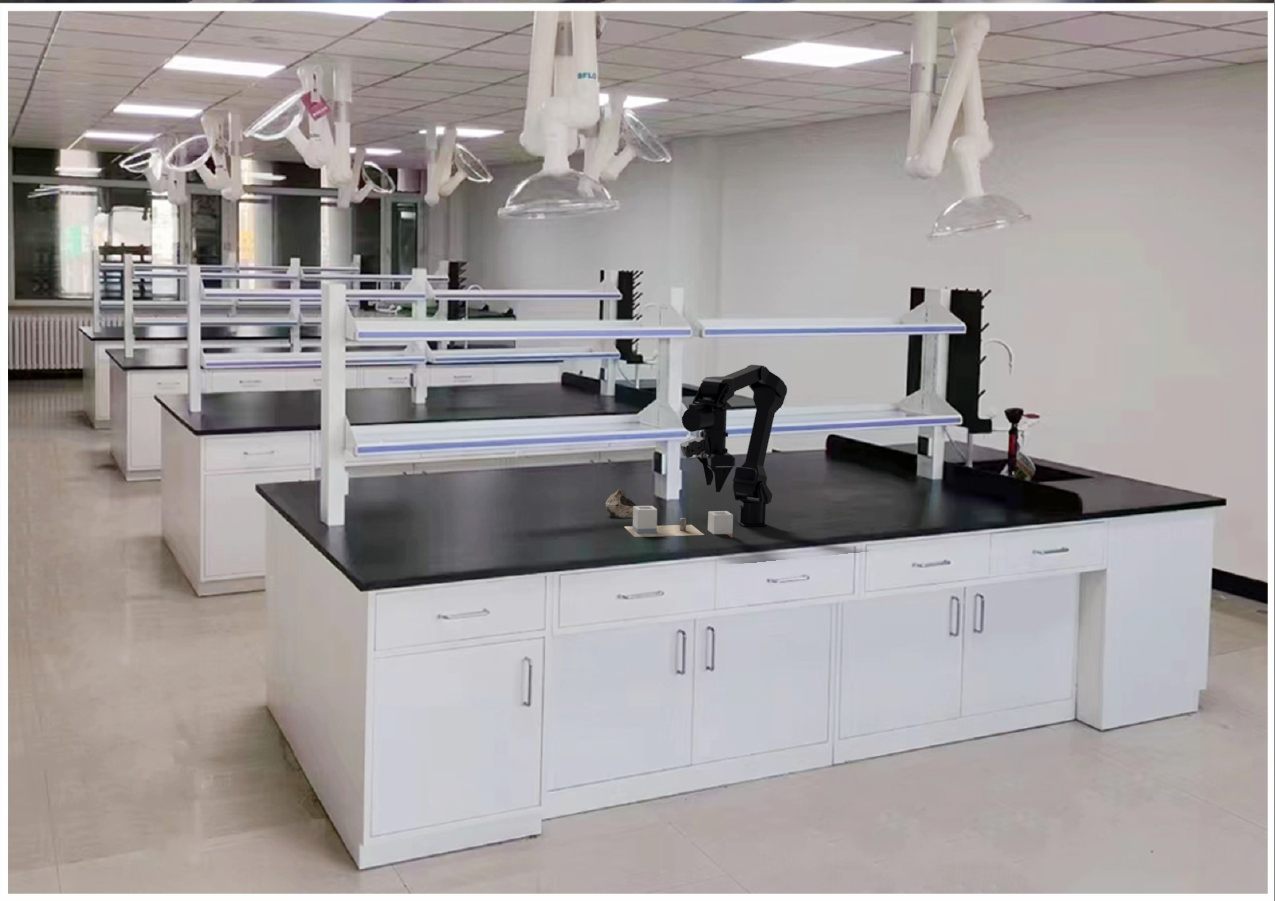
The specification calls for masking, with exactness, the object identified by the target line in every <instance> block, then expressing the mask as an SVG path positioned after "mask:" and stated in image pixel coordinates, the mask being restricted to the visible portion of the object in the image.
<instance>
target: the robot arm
mask: <svg viewBox="0 0 1275 901" xmlns="http://www.w3.org/2000/svg"><path fill="white" fill-rule="evenodd" d="M746 387H749V389H751V390H752V392H753V394H752V400H753V404H754V405H755V406H754V407H755V408H756V411H755V414H754V419H753V423H752V424H753V425H752V429H751V433H750V438H749V442H748V447H747V450H746V456H745V460H744V463H742V464H741V466H736V457H735V456H734V455H732V454H731V453H729V450H728V448H727V447H726V445H727V444H726V443H727V438H728V437H729V433H728V431H727V415H728V414H727V413H728V412H727V410H730V409H732V405H731V404H730V403H729V400H731V399H732V398H733V397H735V393H736V392H737V391H739V390H742V389H744V388H746ZM787 393H788V386H787V385H786V384H785V382H784V380H782V379H781V377H780V376H778V375H776V373H773V372H771V371H770V370H769V369H768V367H766V366H765V365H761V364H750V365H747V366H746V367H744V368H742V369H739V370H737V371H734V372H732V373H729V374H726V375H723V376H706V377H704V378H703V379H702V380H701V383H700V384H699V387H698V389H697V391H696V394H695V396H694V398H693V401H692V402H691V403H689V404H688V409H686V410H685V411H684V412H683V414H682V416H681V423H682V426H683V428H684V429H685V430H686V431H688V432H691V433H692V432H699V436H698V437H694V438H691V439H689V440H686V441H684V442H681V443H680V444H679V446H680V448H681V451H682V452H681V453H682V455H683V456H684V457H685V458H686V459H689V458H692V457H694V456H695V459H696V460H698V462H699V463H700V464H701V468H702V471H703V475H704V481H705V485H706V486H711V485H712V482H713V484H714V491H715V493H721V490H722V488H723V487H724V485H725V483H726V481H727V479H728V477H729V475H730V473H731V471H732V469H734V467H735V466H736V468H735V470H734V476H733V479H732V490H733V494H734V500H735V501H739V505H738V506H737V521H736V522H737V523H738V524H740V525H742V526H743V527H762V526H763V527H767V526H768V523H766V513H767V512H766V508H767V507H766V506H767V505H769V504H770V503H771V502H772V497H773V493H772V492H771V490H770V488H769V487H768V485H767V482H768V479H767V478H768V476H767V473H766V471H765V468H764V465H765V460H766V457H767V456H766V454H767V450H768V446H769V442H770V437H771V432H772V428H773V424H774V420H775V419H774V418H775V414H776V413H777V412H778V410H779V409H781V407H782V406H783V405H784V402H785V398H786V396H787Z"/></svg>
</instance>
